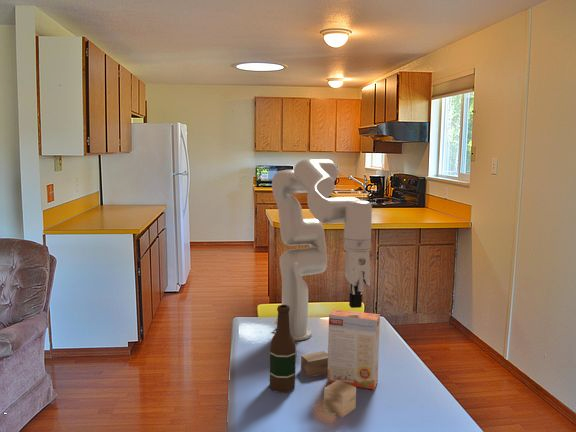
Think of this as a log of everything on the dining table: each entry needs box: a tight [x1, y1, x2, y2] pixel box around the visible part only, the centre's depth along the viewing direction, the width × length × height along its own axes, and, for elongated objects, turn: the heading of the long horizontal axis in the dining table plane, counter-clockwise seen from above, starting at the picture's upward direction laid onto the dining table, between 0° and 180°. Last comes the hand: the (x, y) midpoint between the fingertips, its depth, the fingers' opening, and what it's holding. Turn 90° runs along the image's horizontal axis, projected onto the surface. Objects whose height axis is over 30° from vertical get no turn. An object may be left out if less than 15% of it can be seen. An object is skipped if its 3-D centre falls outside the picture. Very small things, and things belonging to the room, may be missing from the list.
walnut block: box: [300, 350, 328, 378], centre depth 153 cm, size 5×8×5 cm, turn 115°
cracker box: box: [327, 308, 381, 391], centre depth 145 cm, size 14×6×21 cm, turn 70°
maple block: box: [323, 380, 357, 418], centre depth 131 cm, size 6×6×6 cm
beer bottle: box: [269, 304, 297, 393], centre depth 141 cm, size 8×8×24 cm
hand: (355, 306), depth 143 cm, fingers closed
